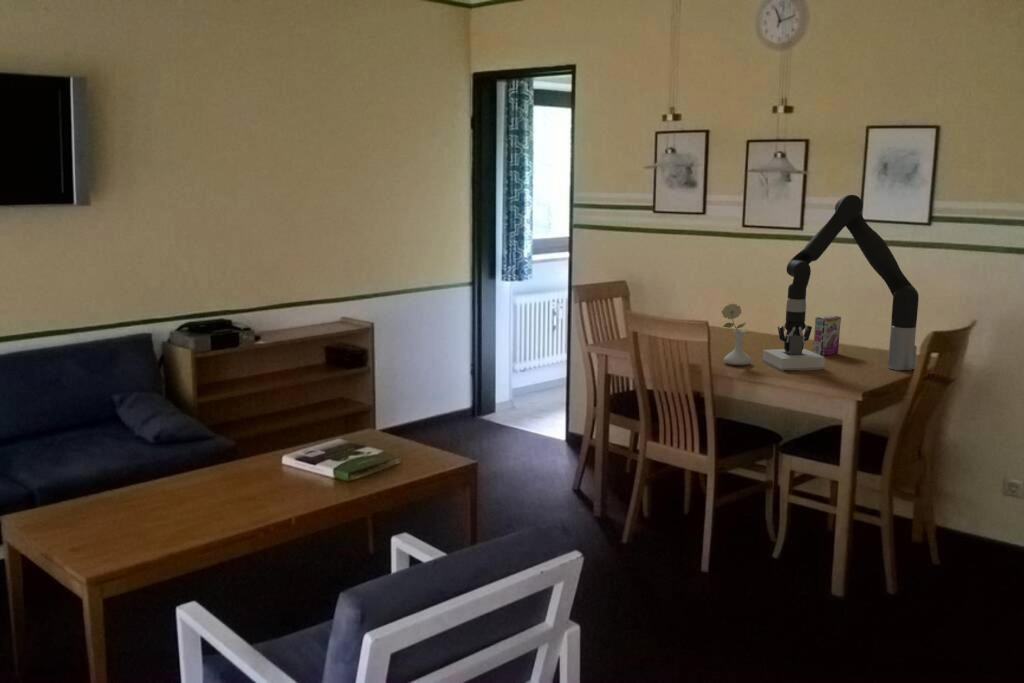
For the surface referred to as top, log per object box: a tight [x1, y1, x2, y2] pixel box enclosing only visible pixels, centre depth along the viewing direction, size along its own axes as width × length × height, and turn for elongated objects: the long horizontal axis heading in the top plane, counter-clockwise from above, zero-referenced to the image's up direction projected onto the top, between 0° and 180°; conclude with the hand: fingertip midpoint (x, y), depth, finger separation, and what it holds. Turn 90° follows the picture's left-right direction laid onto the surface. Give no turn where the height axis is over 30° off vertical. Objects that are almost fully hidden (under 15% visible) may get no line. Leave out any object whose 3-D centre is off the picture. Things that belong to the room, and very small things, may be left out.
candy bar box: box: [812, 314, 842, 357], centre depth 401 cm, size 11×5×16 cm, turn 123°
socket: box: [762, 348, 826, 372], centre depth 380 cm, size 18×18×5 cm
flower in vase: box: [721, 303, 753, 366], centre depth 381 cm, size 13×11×25 cm
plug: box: [785, 334, 804, 355], centre depth 379 cm, size 5×5×9 cm
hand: (793, 350), depth 380 cm, fingers closed on plug, 5 cm apart
